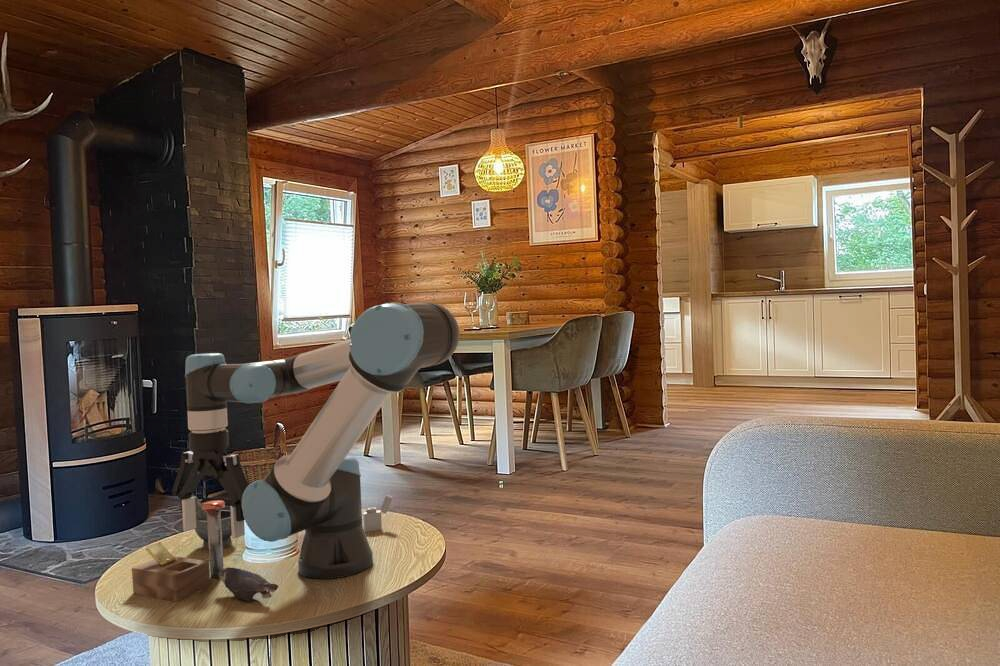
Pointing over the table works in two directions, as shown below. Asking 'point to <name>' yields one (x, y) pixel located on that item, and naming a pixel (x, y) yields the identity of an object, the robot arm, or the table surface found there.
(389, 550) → the table surface
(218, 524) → the red-capped peg
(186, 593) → the block
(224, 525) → the mortar and pestle
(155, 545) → the golden rectangular bar
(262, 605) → the table surface
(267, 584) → the bird model
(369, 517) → the lighter
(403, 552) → the table surface
